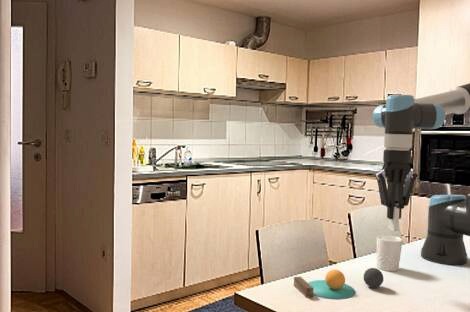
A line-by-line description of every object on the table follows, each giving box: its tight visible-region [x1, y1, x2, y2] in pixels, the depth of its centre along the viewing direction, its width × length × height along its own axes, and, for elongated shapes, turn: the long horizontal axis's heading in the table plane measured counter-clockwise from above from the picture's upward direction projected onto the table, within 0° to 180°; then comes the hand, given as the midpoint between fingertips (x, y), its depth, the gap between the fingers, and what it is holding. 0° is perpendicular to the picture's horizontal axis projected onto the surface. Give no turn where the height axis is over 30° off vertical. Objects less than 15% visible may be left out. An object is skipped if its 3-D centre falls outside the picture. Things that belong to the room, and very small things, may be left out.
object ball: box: [324, 269, 346, 290], centre depth 128 cm, size 6×6×6 cm
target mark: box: [307, 279, 356, 300], centre depth 128 cm, size 14×14×1 cm
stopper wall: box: [293, 276, 314, 298], centre depth 126 cm, size 2×9×2 cm, turn 14°
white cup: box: [376, 235, 403, 272], centre depth 149 cm, size 8×8×10 cm
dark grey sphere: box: [363, 267, 384, 289], centre depth 131 cm, size 6×6×6 cm
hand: (393, 229), depth 132 cm, fingers closed
